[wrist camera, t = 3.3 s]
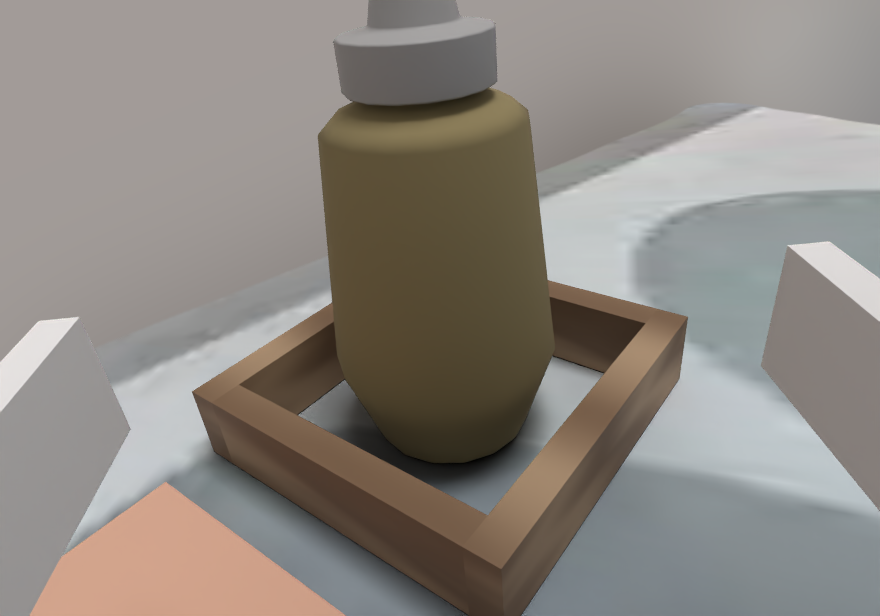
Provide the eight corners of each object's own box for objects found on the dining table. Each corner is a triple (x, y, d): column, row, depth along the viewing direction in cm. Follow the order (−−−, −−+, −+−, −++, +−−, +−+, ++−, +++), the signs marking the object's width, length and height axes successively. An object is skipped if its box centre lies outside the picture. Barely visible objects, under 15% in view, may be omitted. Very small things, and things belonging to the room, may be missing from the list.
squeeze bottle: (599, 431, 24) (634, -157, 14) (409, 528, 21) (298, -139, 11) (482, 335, 30) (454, -120, 21) (323, 399, 27) (205, -103, 18)
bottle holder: (426, 298, 33) (420, 246, 32) (679, 378, 26) (687, 317, 24) (214, 451, 25) (191, 391, 23) (505, 638, 17) (501, 569, 16)
